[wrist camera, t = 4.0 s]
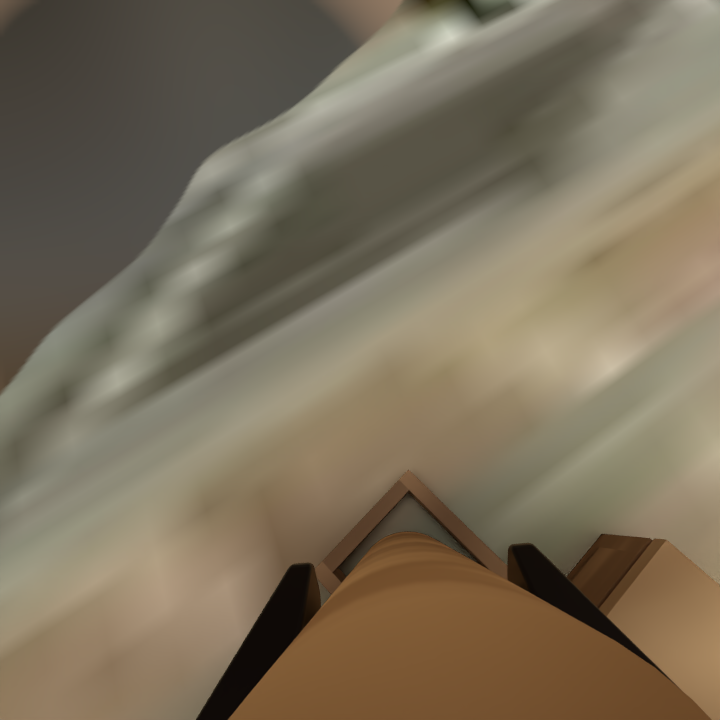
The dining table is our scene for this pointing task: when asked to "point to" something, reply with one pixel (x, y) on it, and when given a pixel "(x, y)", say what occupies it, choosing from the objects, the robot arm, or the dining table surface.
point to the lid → (673, 620)
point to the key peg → (453, 652)
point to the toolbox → (589, 575)
